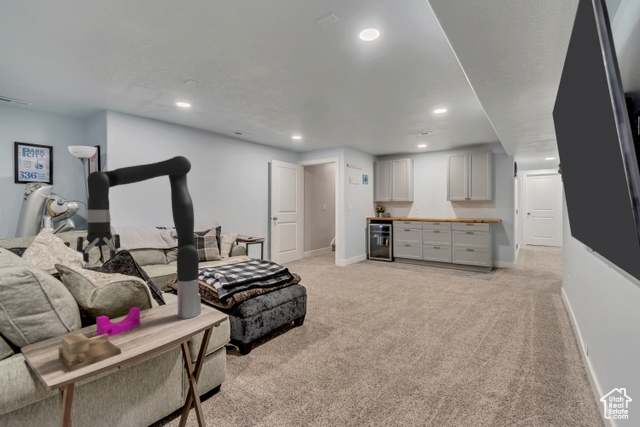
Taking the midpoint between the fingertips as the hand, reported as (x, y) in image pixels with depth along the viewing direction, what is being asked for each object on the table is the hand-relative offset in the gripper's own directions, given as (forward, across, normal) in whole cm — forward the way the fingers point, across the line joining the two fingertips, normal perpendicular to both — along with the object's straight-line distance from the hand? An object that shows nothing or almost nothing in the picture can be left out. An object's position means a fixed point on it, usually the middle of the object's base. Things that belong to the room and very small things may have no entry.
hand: (99, 260), depth 120 cm
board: (+30, +9, +18) cm, 36 cm away
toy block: (+31, -6, +2) cm, 31 cm away
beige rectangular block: (+29, +13, +18) cm, 36 cm away
